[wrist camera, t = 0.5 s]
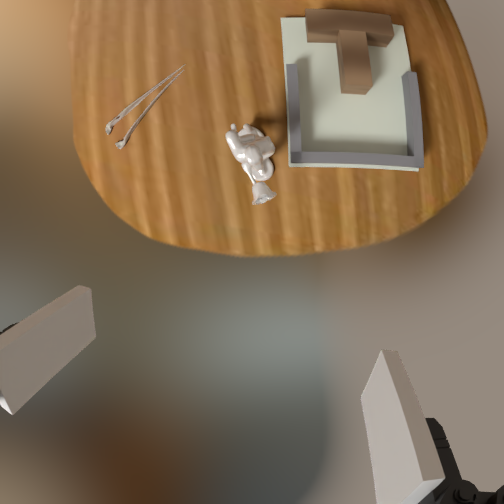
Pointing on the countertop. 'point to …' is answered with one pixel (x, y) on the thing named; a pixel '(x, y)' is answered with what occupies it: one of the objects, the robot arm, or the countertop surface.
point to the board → (350, 106)
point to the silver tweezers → (133, 105)
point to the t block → (350, 42)
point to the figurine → (253, 158)
